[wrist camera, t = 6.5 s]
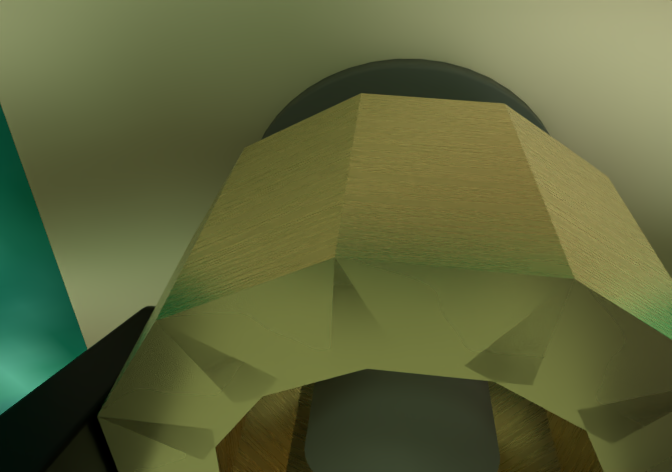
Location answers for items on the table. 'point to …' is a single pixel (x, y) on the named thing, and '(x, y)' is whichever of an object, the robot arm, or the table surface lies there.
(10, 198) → the table surface
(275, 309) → the ring
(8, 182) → the table surface
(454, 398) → the stand
